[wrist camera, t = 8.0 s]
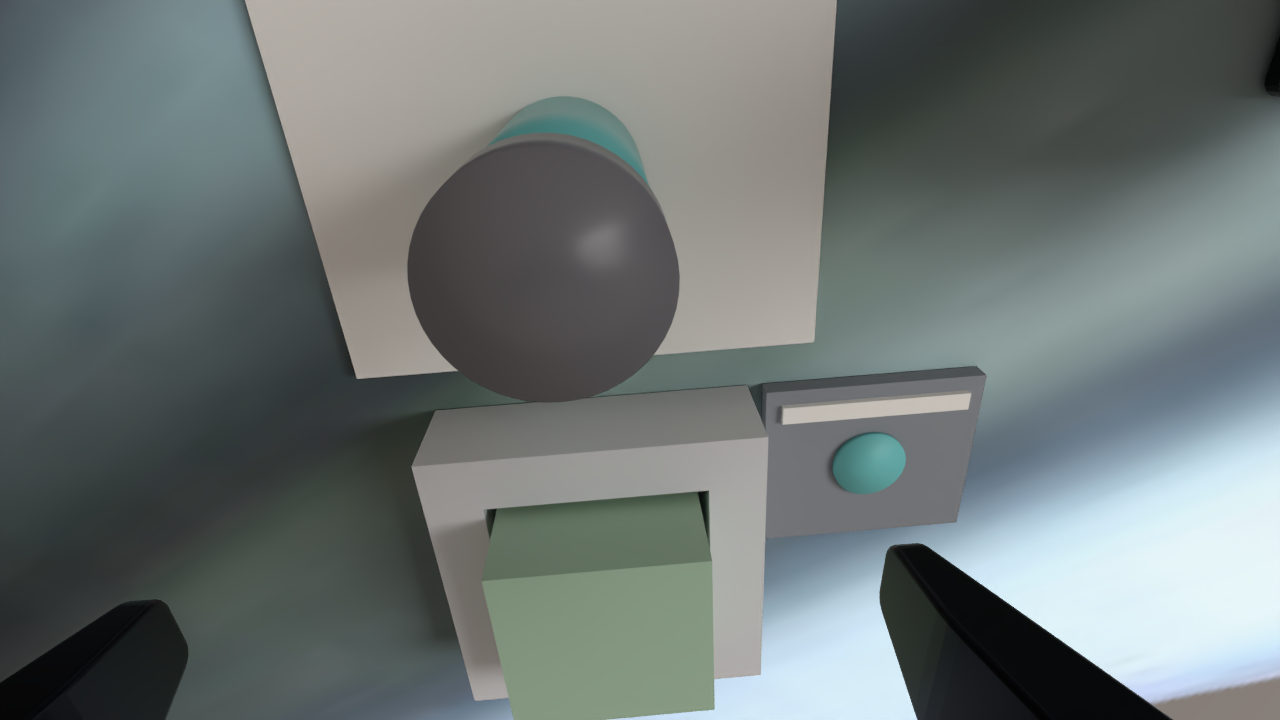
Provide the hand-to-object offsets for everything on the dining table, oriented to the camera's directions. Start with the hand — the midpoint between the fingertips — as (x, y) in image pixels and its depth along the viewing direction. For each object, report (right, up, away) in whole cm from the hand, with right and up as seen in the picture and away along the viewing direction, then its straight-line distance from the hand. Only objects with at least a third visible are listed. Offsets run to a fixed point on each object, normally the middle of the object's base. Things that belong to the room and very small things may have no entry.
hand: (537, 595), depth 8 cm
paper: (-1, +8, +10) cm, 12 cm away
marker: (-1, +8, +9) cm, 12 cm away
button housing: (0, -3, +15) cm, 15 cm away
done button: (0, -3, +14) cm, 14 cm away
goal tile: (+9, 0, +14) cm, 17 cm away
